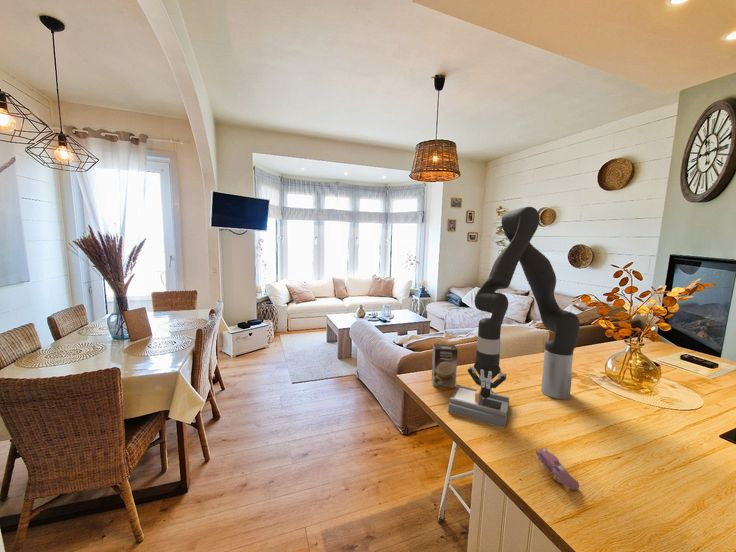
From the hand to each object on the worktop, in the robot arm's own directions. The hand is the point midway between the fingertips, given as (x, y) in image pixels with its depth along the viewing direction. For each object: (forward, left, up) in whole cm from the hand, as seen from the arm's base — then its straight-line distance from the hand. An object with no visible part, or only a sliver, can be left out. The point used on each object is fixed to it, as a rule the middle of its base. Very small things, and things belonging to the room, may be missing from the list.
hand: (485, 396), depth 104 cm
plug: (+2, -14, -5) cm, 15 cm away
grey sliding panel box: (+2, 0, -5) cm, 5 cm away
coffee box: (+18, -12, -5) cm, 22 cm away
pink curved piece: (-20, +22, -5) cm, 30 cm away
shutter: (+6, 0, -2) cm, 6 cm away
